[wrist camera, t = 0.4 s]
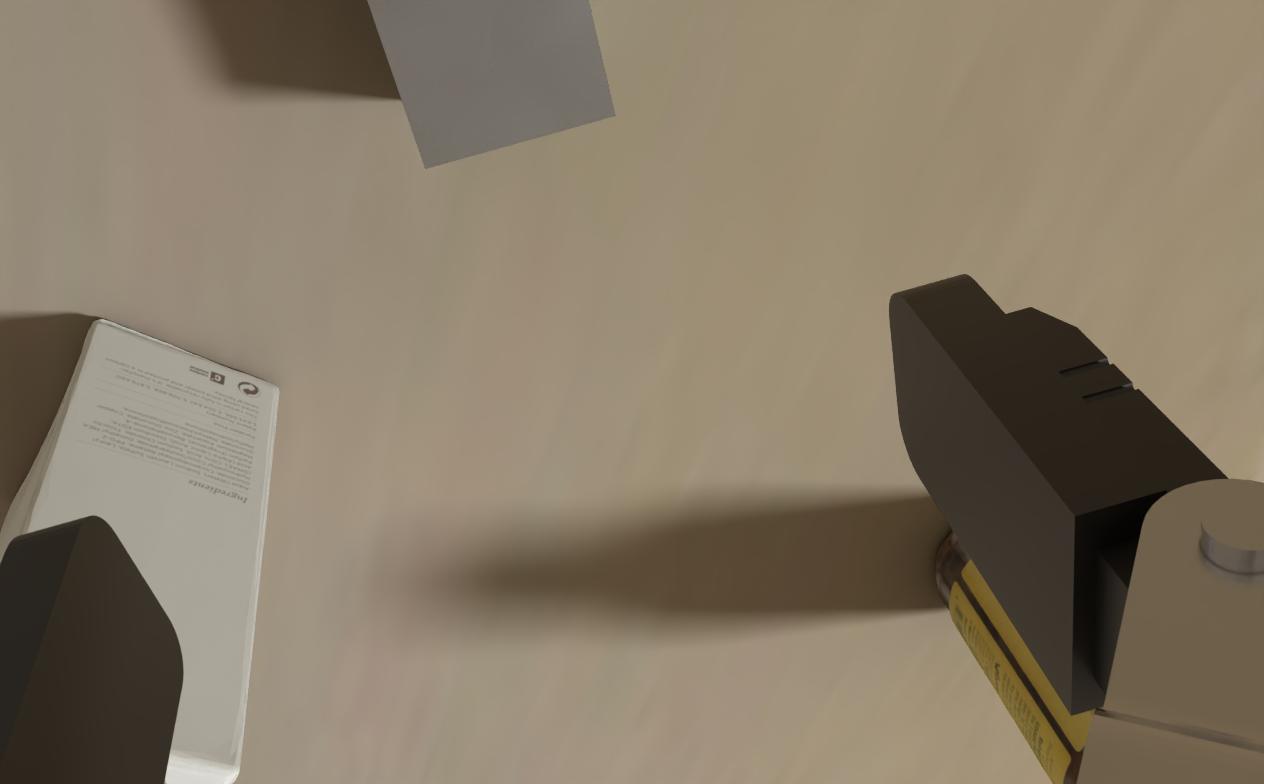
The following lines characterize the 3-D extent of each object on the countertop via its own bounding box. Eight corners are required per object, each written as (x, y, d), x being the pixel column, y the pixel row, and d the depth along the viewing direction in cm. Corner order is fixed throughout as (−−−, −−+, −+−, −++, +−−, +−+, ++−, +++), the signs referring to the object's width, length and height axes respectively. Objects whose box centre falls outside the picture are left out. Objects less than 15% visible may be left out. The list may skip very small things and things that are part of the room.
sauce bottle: (1027, 615, 48) (1358, 1119, 32) (901, 595, 46) (1185, 1122, 30) (1109, 497, 45) (1519, 985, 29) (977, 469, 43) (1339, 979, 27)
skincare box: (95, 310, 34) (-66, 698, 21) (294, 385, 36) (250, 770, 24) (5, 516, 37) (-180, 957, 25) (193, 572, 39) (109, 996, 27)
